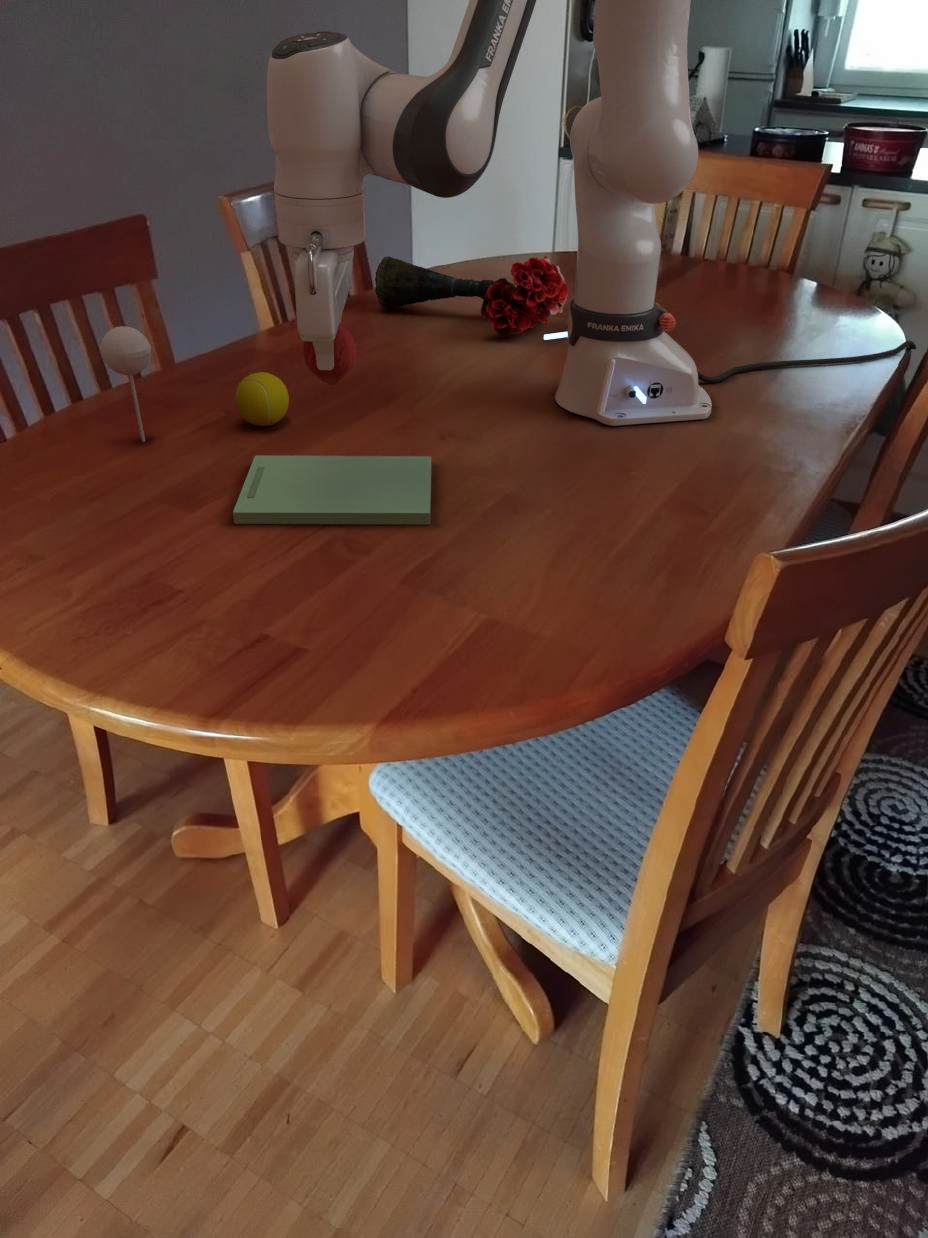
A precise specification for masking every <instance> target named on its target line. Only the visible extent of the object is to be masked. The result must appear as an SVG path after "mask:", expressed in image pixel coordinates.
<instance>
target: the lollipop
mask: <svg viewBox="0 0 928 1238" xmlns="http://www.w3.org/2000/svg"><path fill="white" fill-rule="evenodd" d="M99 353H100V356H101V358H102V360H103V362H104V364H106V366H107V367H108V368H109V369H110V370H112V371H113V372H114V373H116V374H118V375H119V374H120V375H122V376H128V377H129V383H130V388H131V394H132V398H133V403H134V409H135V414H136V418H137V424H138V429H139V434H140V439H141V442H142V443H145V442H146V437H145V432H144V427H143V421H142V415H141V411H140V405H139V400H138V396H137V391H136V385H135V380H134V375H137V374H139V373H141V372H143V371H144V370H145V369H146V368H147V367H148V365H149V363H150V361H151V355H152V347H151V343H150V342H149V340H148V338H147V337H146V336H145V335H144V334H143V333H142V332H141V331H139V330H138V329H136V328H135V327H132V326H131V327H130V326H126V325H121V326H116V327H113V328H111V329H110V330H109V331H107V332H106V333H105V335H104V337H103V338H102V340H101V343H100V347H99Z"/></svg>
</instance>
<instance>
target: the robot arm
mask: <svg viewBox="0 0 928 1238" xmlns="http://www.w3.org/2000/svg"><path fill="white" fill-rule="evenodd" d="M691 1H692V0H594V11H593V13H594V14H593V28H592V29H593V31H592V42H593V48H594V51H595V56H596V60H597V69H598V75H599V76H598V77H599V88H600V96H598V97H597V98H594V99H591V100H590V101H588V102H587V103H586V104H585V105H584V106H583V107H582V108H581V109H580V110H579V111H578V113H577V114H576V116H575V118H574V119H573V122H572V124H571V128H570V132H569V133H570V134H569V145H570V146H569V147H570V151H571V154H572V155H571V156H572V161H573V178H574V179H573V180H574V181H573V182H574V200H575V211H576V212H575V213H576V225H577V227H576V229H577V251H576V266H575V280H574V291H573V298H572V299H571V300H570V304H569V306H570V307H569V310H568V317H567V329H566V331H563V332H555V333H547V334H544V335H543V340H545V341H546V340H554V339H562V338H567V342H568V346H567V351H566V357H565V361H564V366H563V370H562V374H561V377H560V380H559V384H558V387H557V389H556V392H555V394H554V401H555V402H556V403H557V404H558V405H559V406H560V407H561V408H563V409H564V410H566V411H568V412H570V413H573V414H576V415H580V416H583V417H586V418H591V419H594V420H596V421H597V422H600V423H601V424H603V425H607V426H610V427H611V426H612V427H613V426H615V427H616V426H617V427H618V426H631V425H643V424H656V423H670V422H682V421H683V422H684V421H695V420H696V421H697V420H706V419H708V418H709V417H710V415H711V414H712V408H713V407H712V406H713V404H712V403H713V402H712V400H711V397H710V395H709V394H708V392H707V391H706V390H705V389H704V388H703V387H702V386H701V385H699V380H700V381H702V382H704V383H708V384H716V383H717V384H718V383H721V382H722V381H725V380H726V379H727V378H729V377H731V376H732V375H734V374H737V373H741V372H746V371H754V370H760V369H770V368H771V369H772V368H782V367H784V368H785V367H798V366H799V367H800V366H801V367H802V366H819V365H833V364H847V363H849V364H850V363H858V362H867V361H872V360H879V359H883V358H884V359H885V358H887V357H892V356H894V355H895V356H896V355H897V354H899V353H900V352H902V351H903V350H905V349H906V348H908V347H909V348H910V349H911V350H917V345H916V344H915V342H914V341H912V340H906V341H904V342H902V343H901V344H900V345H899V346H897V347H896V348H893V349H889V350H886V351H881V352H877V353H871V354H864V355H857V356H846V357H831V358H829V357H828V358H815V359H794V360H793V359H792V360H779V361H767V362H758V363H749V364H744V365H738V366H734V367H732V368H730V369H728V370H726V371H725V372H723V373H722V374H720V375H718V376H707V375H705V374H703V373H702V372H700V371H698V368H697V364H696V362H695V360H694V359H693V358H692V355H690V353H689V352H688V351H687V350H686V349H684V348H683V347H682V346H681V345H680V344H679V342H677V341H676V340H675V339H673V338H672V337H671V336H670V335H669V334H668V333H667V332H670V331H673V330H674V328H675V327H676V325H677V320H676V319H675V317H674V316H673V314H672V313H670V312H668V311H667V309H665V308H664V307H663V306H661V305H660V304H659V303H658V302H655V301H656V293H657V286H658V284H657V283H658V279H659V278H658V277H659V270H660V261H661V254H662V242H661V237H660V234H659V228H658V224H657V212H656V204H657V205H658V204H663V203H667V202H668V201H671V200H673V199H675V198H676V197H678V196H679V195H680V194H682V193H683V191H685V190H686V188H687V187H688V185H689V184H690V182H691V181H692V179H693V177H694V175H695V173H696V170H697V167H698V162H699V144H698V141H697V137H696V135H695V132H694V129H693V124H692V118H691V117H692V116H691V104H690V103H691V102H690V85H689V84H690V83H689V69H688V33H689V23H690V11H691ZM536 4H537V0H468V3H467V6H466V10H465V12H464V15H463V19H462V21H461V24H460V27H459V30H458V33H457V36H456V39H455V42H454V45H453V48H452V51H451V54H450V56H449V59H448V60H447V62H446V63H445V64H444V65H443V67H442V68H440V69H439V70H437V71H436V72H435V73H433V74H431V75H428V76H424V75H423V76H422V75H413V74H407V73H404V72H399V71H392V70H391V69H390V68H388V67H386V66H383V65H382V64H380V63H378V62H376V61H374V60H373V59H371V58H370V57H368V56H367V55H365V54H364V53H363V52H361V51H360V50H359V49H358V48H357V47H356V46H354V45H353V43H352V42H351V39H350V38H349V37H348V36H347V35H346V34H344V33H341V32H338V31H330V30H329V31H326V30H325V31H316V32H305V33H301V34H297V35H293V36H290V37H287V38H285V39H283V40H281V41H280V42H279V43H277V45H275V46H274V47H273V48H272V50H271V52H270V55H269V59H268V63H267V69H266V70H267V71H266V111H267V112H266V114H267V129H268V140H269V145H270V148H271V151H272V153H273V157H274V162H275V175H274V176H275V177H274V181H273V194H274V195H273V197H274V206H275V208H274V209H275V216H276V229H277V240H278V241H279V242H280V244H282V245H284V246H286V247H291V256H292V257H291V258H292V259H294V261H295V264H294V292H295V293H294V294H295V313H296V327H297V333H298V338H299V339H300V340H301V341H302V342H305V341H309V342H312V343H313V346H314V350H315V353H316V363H317V368H318V369H319V370H332V369H333V367H334V364H335V355H334V349H333V340H334V339H335V336H336V333H337V329H338V326H339V323H340V324H342V315H343V313H344V309H345V305H346V302H347V299H348V296H349V293H350V290H351V287H352V286H351V285H352V278H353V268H354V267H353V265H354V257H355V250H354V248H355V247H354V246H358V245H360V244H362V243H363V242H365V240H366V221H365V217H366V216H365V198H364V197H365V195H364V178H365V177H366V176H367V175H372V176H376V177H379V178H381V179H385V180H387V181H392V182H394V183H395V182H396V183H400V184H403V185H408V186H411V187H412V188H414V189H416V190H419V191H421V192H424V193H427V194H429V195H432V196H435V197H437V198H441V199H448V198H455V197H458V196H460V195H462V194H464V193H466V192H467V191H468V190H470V189H471V188H473V186H474V185H475V184H476V183H477V182H478V181H479V180H480V179H481V177H482V175H483V174H484V173H485V171H486V170H487V168H488V166H489V163H490V161H491V159H492V156H493V153H494V149H495V145H496V139H497V133H498V126H499V121H500V114H501V111H502V106H503V103H504V99H505V96H506V93H507V90H508V87H509V83H510V82H511V81H510V80H511V77H512V74H513V72H514V69H515V66H516V63H517V60H518V56H519V54H520V51H521V49H522V45H523V42H524V39H525V37H526V33H527V30H528V27H529V25H530V22H531V18H532V16H533V12H534V9H535V6H536ZM908 345H909V346H908Z"/></svg>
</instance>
